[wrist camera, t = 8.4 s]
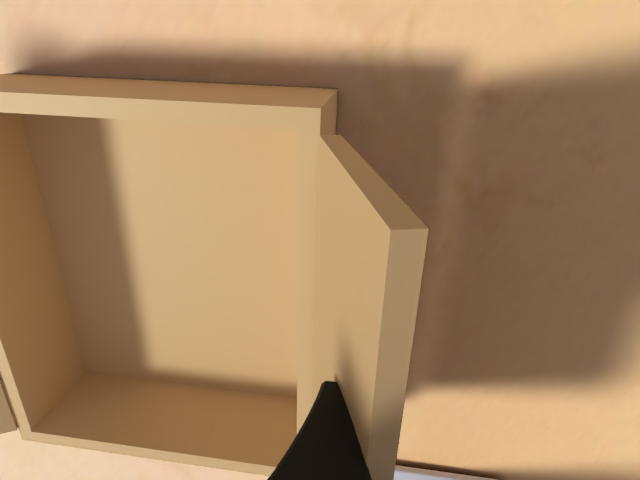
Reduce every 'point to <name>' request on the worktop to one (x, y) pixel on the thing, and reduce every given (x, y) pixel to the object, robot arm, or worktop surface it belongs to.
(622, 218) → the worktop surface
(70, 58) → the worktop surface
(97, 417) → the carton
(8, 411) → the flap
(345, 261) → the flap
